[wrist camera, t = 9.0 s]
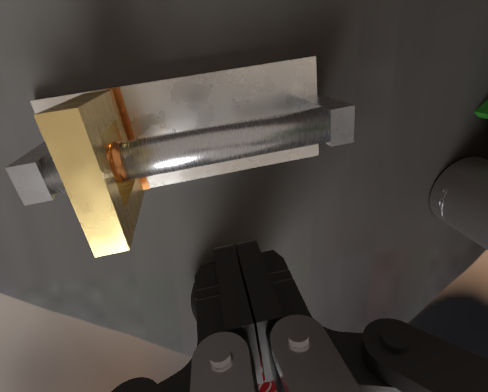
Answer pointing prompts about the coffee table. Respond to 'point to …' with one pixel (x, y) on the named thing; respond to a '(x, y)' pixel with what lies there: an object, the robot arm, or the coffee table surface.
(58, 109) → the gold rectangular block
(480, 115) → the hardback book
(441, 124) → the coffee table surface
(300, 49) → the coffee table surface
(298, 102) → the rail stand
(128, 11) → the coffee table surface
